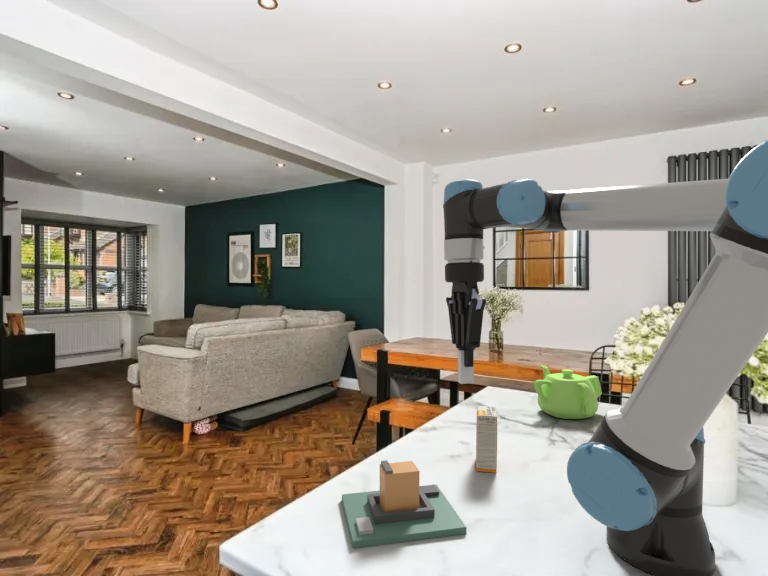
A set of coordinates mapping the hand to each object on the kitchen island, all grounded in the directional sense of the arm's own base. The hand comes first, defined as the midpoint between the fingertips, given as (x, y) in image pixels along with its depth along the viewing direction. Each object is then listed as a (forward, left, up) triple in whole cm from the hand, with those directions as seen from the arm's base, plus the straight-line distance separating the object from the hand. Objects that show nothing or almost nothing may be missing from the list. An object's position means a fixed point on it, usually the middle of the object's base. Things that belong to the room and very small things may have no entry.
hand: (466, 382), depth 87 cm
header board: (-1, +14, -24) cm, 28 cm away
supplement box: (+16, -12, -25) cm, 32 cm away
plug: (-1, +14, -23) cm, 27 cm away
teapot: (+49, -55, -25) cm, 77 cm away
